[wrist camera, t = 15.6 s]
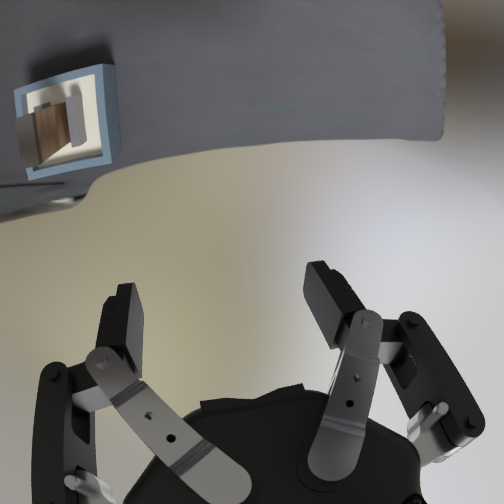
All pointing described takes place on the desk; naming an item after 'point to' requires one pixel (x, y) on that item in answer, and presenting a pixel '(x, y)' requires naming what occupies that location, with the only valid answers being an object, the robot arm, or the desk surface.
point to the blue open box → (77, 117)
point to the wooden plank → (42, 134)
